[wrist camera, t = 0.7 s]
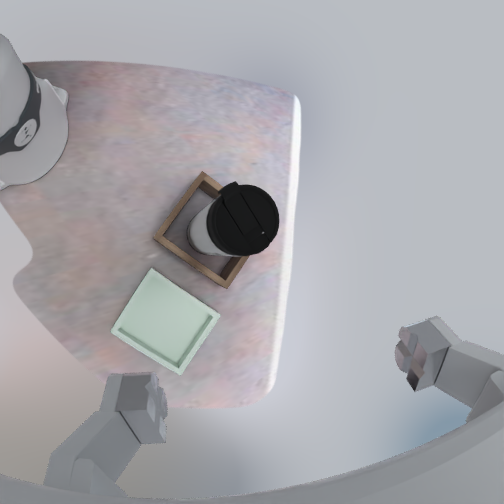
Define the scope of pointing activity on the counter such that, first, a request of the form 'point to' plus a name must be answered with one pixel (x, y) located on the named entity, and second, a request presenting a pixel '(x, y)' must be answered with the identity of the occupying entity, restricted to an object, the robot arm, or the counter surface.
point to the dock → (165, 322)
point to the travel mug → (235, 222)
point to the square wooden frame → (225, 277)
